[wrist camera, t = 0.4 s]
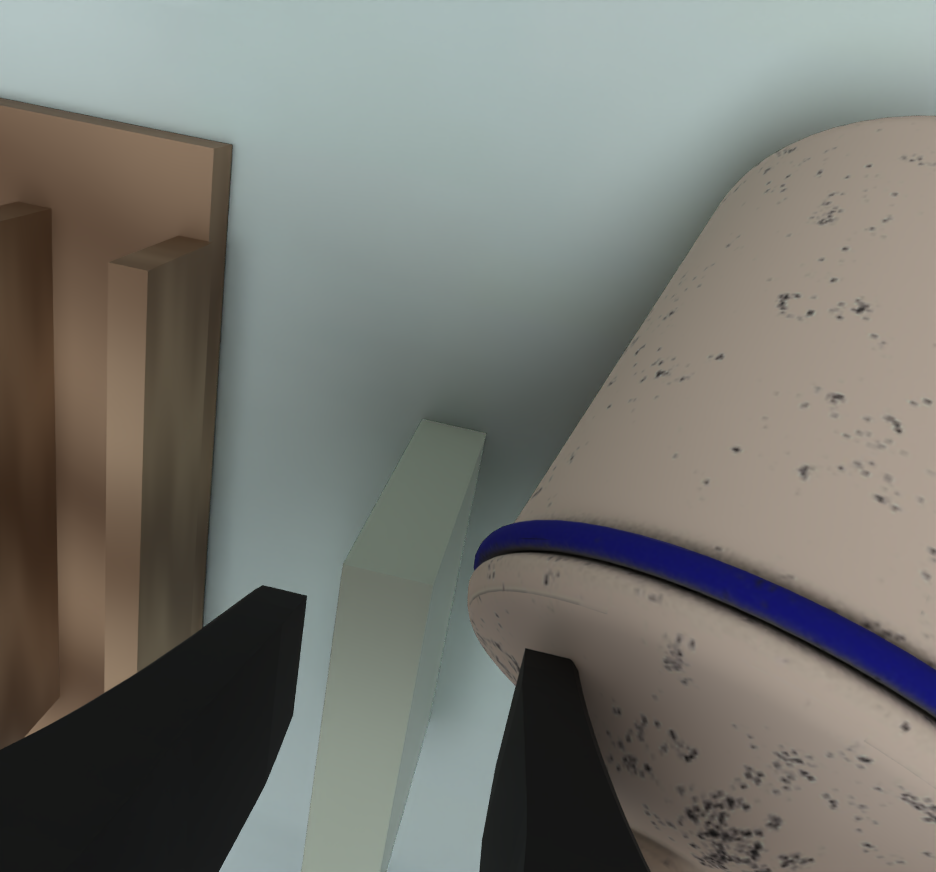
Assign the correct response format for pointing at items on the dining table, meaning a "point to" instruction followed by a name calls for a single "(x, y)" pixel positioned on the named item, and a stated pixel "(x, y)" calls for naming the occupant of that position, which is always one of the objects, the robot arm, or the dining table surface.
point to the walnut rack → (103, 400)
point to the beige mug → (759, 528)
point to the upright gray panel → (389, 650)
